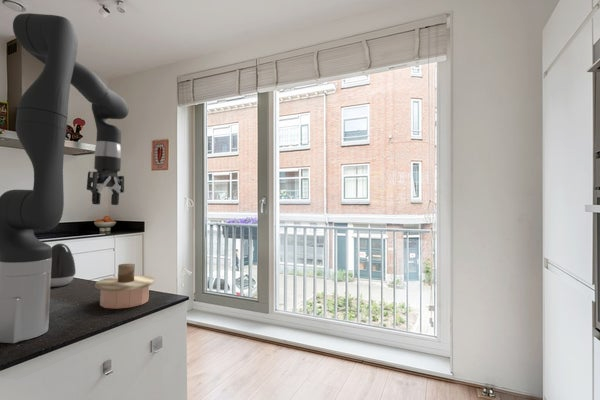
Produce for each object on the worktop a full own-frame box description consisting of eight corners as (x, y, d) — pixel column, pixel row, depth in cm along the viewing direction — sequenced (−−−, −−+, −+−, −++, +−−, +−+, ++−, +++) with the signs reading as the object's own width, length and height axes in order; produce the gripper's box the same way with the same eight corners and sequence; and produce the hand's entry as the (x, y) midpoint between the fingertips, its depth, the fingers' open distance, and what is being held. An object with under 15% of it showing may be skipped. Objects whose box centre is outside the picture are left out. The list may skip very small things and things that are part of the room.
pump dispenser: (33, 286, 113) (35, 243, 113) (66, 280, 122) (68, 241, 122) (48, 290, 108) (50, 246, 108) (80, 284, 117) (82, 243, 118)
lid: (133, 292, 89) (134, 271, 89) (81, 289, 91) (82, 268, 91) (163, 279, 105) (164, 261, 105) (119, 277, 107) (120, 259, 107)
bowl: (131, 309, 91) (131, 290, 91) (89, 306, 92) (90, 288, 92) (156, 297, 104) (157, 280, 104) (120, 294, 105) (120, 278, 105)
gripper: (102, 152, 98) (100, 204, 98) (132, 160, 112) (130, 205, 112) (80, 152, 99) (78, 204, 98) (112, 159, 113) (110, 204, 113)
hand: (105, 204), depth 105 cm, fingers open, 8 cm apart
